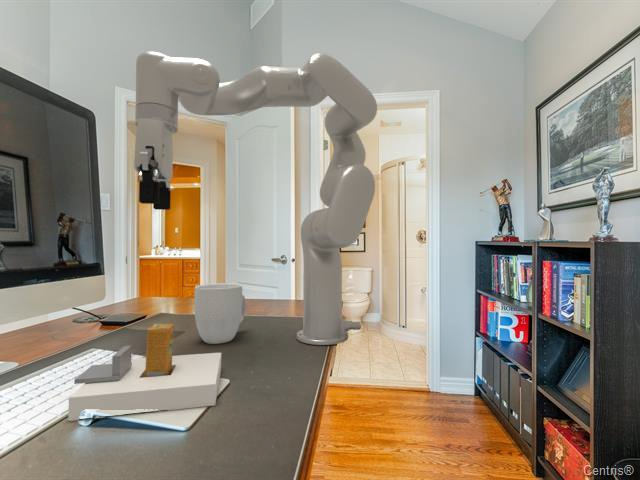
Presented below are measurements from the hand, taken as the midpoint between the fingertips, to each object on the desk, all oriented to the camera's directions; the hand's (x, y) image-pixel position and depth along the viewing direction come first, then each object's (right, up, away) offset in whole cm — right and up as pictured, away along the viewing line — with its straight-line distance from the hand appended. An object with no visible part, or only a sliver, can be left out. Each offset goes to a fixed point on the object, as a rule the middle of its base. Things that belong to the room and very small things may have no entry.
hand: (156, 206), depth 64 cm
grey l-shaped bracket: (0, -27, -15) cm, 31 cm away
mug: (+8, -31, +15) cm, 35 cm away
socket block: (+7, -30, -13) cm, 34 cm away
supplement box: (+7, -30, -13) cm, 34 cm away
